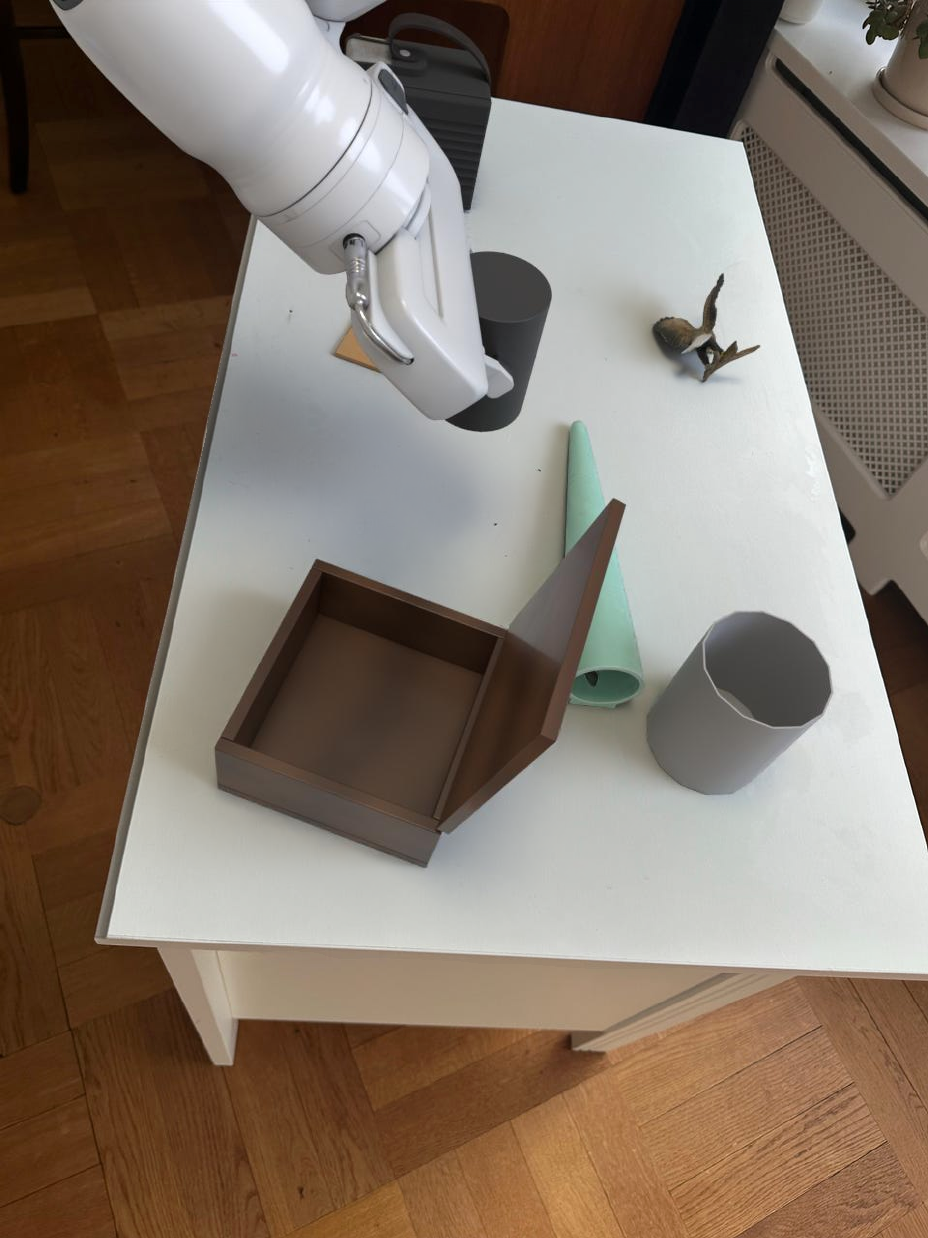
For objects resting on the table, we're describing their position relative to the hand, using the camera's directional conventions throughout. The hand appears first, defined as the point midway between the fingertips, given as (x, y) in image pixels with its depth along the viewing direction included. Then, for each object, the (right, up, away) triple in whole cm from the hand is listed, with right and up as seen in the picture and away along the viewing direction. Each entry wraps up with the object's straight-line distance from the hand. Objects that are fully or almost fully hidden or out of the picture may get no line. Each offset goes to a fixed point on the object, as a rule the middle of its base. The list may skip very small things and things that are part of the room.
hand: (496, 340), depth 59 cm
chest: (-9, -25, +2) cm, 26 cm away
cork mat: (-7, +7, +23) cm, 25 cm away
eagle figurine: (+19, +8, +29) cm, 36 cm away
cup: (+15, -26, +7) cm, 30 cm away
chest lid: (+1, -20, -9) cm, 22 cm away
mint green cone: (+7, -13, +14) cm, 20 cm away
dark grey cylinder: (-1, -3, +4) cm, 5 cm away
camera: (-8, +28, +37) cm, 47 cm away
